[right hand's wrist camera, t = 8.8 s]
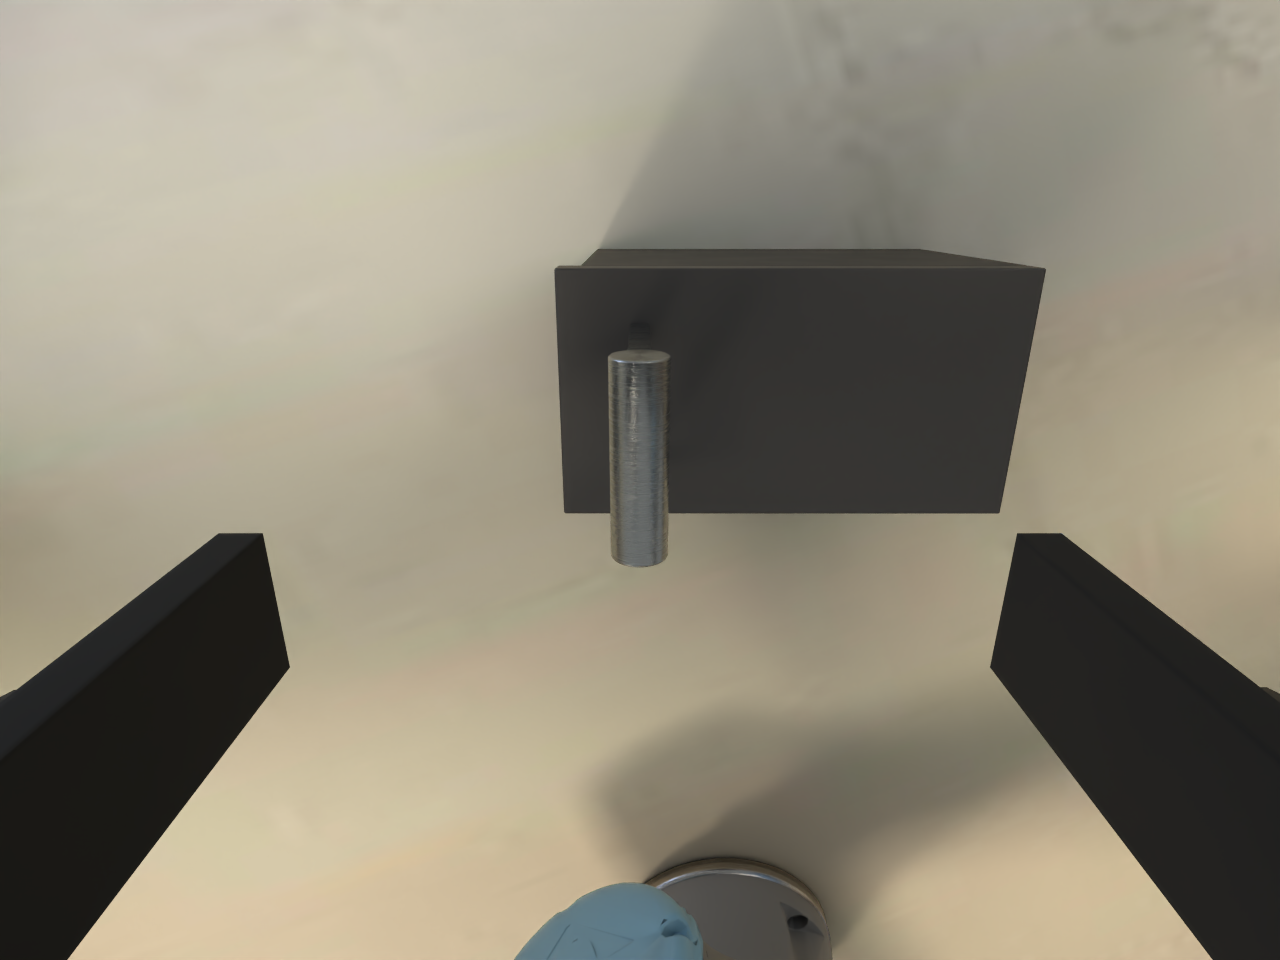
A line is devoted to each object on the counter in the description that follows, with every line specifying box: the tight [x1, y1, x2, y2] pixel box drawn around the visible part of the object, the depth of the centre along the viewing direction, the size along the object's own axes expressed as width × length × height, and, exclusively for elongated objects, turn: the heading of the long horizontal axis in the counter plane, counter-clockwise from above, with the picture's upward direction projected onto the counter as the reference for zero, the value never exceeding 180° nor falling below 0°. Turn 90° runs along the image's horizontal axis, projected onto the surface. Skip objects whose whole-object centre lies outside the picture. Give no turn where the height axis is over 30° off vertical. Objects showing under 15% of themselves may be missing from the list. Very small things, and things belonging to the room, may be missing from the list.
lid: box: [555, 266, 1046, 567], centre depth 23 cm, size 17×9×9 cm, turn 90°
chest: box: [581, 249, 1026, 266], centre depth 32 cm, size 16×9×11 cm, turn 90°
